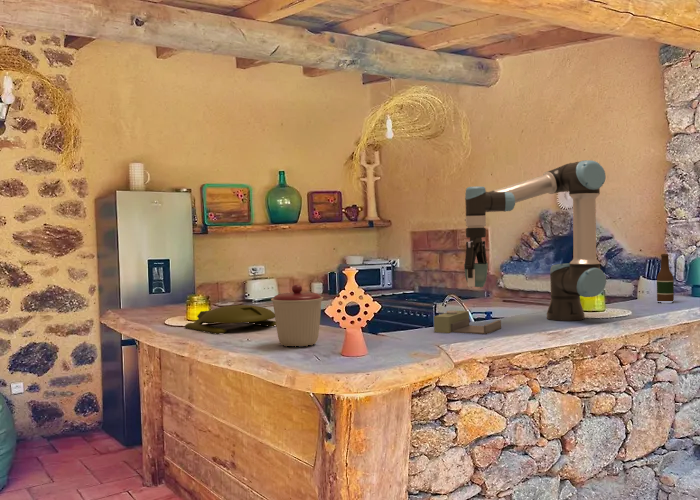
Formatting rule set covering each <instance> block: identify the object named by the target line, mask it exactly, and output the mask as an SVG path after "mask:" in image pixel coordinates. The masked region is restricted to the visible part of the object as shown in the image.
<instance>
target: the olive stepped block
mask: <svg viewBox="0 0 700 500" xmlns="http://www.w3.org/2000/svg"><path fill="white" fill-rule="evenodd" d="M465 319H469V320H470V311H469V310H446V312H444V313H441V314H437V315H434V316H433V325H434V326H433V327H434V328H433V331H434V333H443V334H450V333H452V332H451V324H452V323H455V322H458V321H462V320H465Z"/></svg>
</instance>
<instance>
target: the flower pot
mask: <svg viewBox="0 0 700 500" xmlns="http://www.w3.org/2000/svg"><path fill="white" fill-rule="evenodd" d="M463 266H464V267H463V268H464V276H465V277H464V278H465V280H466V282H467V269H465V263H464V264H463ZM488 266H489V263H488V262H487V263H478V262H475V264H474V269H475V287H474V288H484V284H485V285H486V281H487V277H488V276H487V275H488Z"/></svg>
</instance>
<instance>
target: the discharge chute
mask: <svg viewBox="0 0 700 500" xmlns="http://www.w3.org/2000/svg"><path fill="white" fill-rule="evenodd" d="M470 323H471V322H470V318H469V319H465V320H462V321H458V322H455V323H452V324H451V333H453V334H454V333H457V334H458V333H459V334H471V333H472V335H489V334H491V333H494V332H497V331H499V330H501V329H502V320H500V319H499V320H495V321H492V322H490V323H487V324H484V325H473V324H472V325H470Z"/></svg>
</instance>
